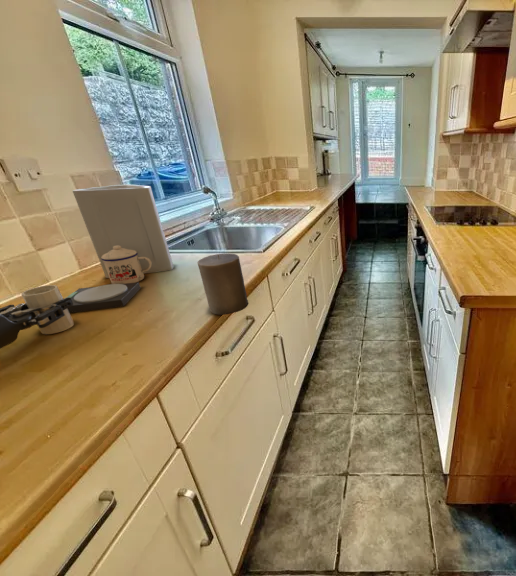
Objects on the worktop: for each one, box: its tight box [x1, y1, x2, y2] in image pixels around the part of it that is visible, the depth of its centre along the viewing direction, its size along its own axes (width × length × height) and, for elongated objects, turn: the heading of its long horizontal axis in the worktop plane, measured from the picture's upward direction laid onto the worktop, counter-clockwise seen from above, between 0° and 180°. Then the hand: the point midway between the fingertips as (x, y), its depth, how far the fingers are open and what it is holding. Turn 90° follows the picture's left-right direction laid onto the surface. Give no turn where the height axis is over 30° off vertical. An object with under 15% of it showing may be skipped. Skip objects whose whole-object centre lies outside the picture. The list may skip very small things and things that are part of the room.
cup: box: [20, 284, 75, 335], centre depth 74 cm, size 6×6×10 cm
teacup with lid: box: [101, 245, 151, 284], centre depth 102 cm, size 12×9×12 cm
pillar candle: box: [197, 252, 249, 316], centre depth 83 cm, size 10×10×15 cm
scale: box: [65, 281, 142, 314], centre depth 90 cm, size 15×13×2 cm
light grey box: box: [72, 184, 174, 279], centre depth 109 cm, size 19×15×28 cm
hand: (57, 301), depth 76 cm, fingers closed on cup, 6 cm apart
